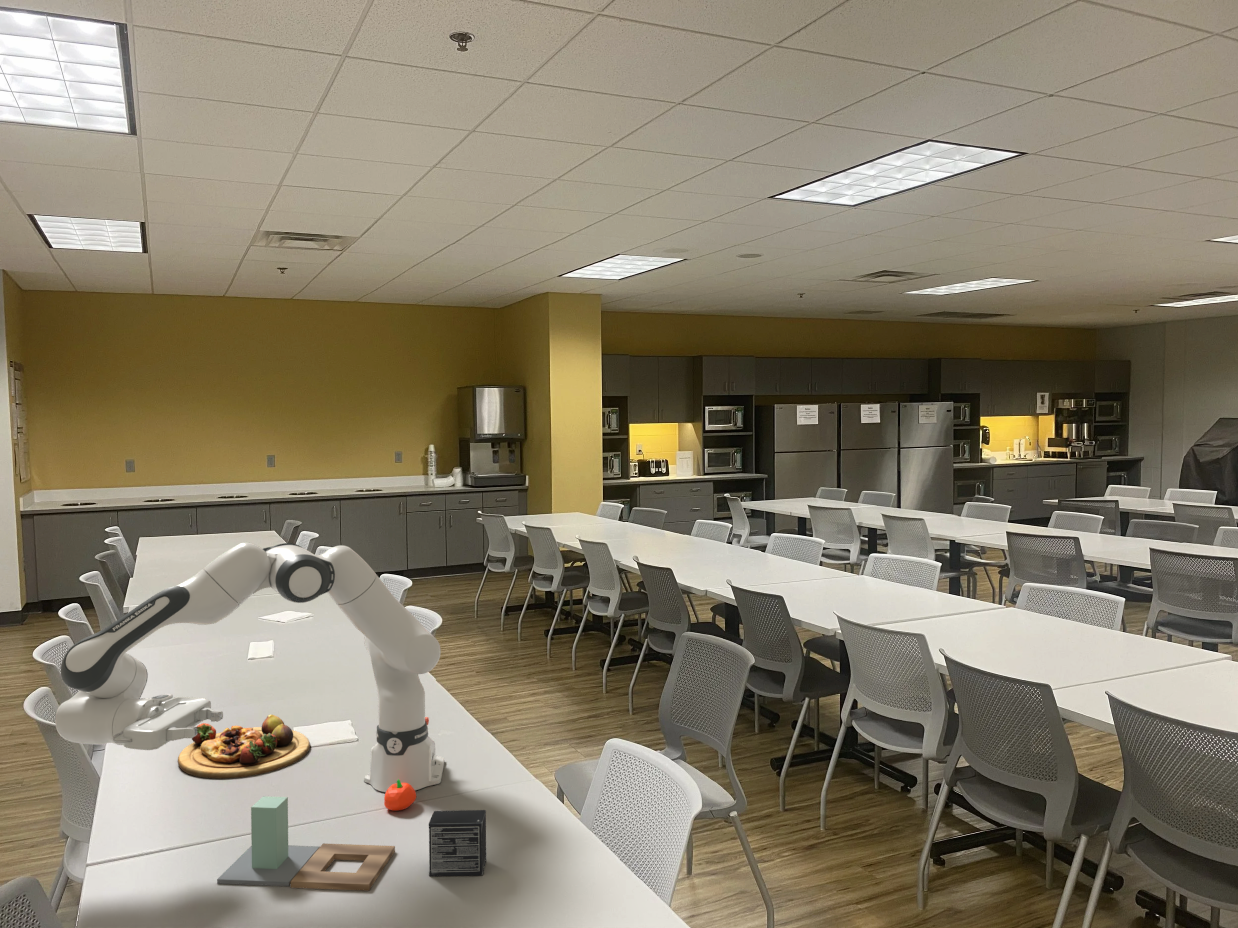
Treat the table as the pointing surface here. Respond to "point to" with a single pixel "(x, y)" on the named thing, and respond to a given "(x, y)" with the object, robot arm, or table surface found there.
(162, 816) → the table surface
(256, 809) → the green block
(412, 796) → the pumpkin
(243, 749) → the wooden plate with food
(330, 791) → the table surface
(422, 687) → the robot arm
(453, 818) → the small box
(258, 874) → the rubber mat
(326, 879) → the pocket board
